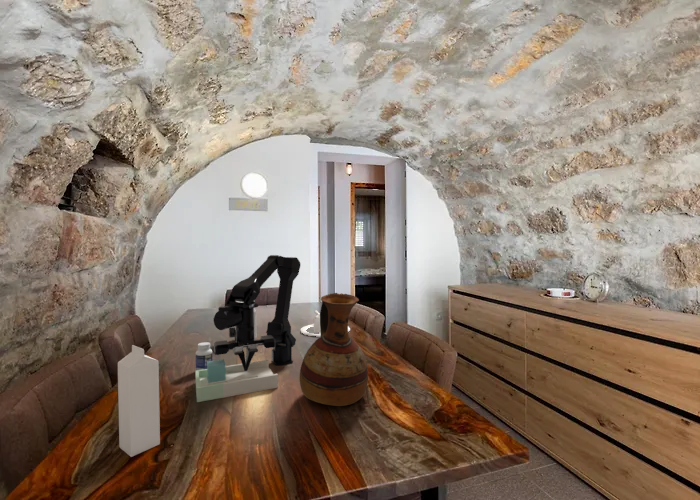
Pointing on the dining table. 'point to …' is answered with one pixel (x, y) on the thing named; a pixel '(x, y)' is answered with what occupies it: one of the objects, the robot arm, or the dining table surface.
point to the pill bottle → (203, 355)
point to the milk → (138, 402)
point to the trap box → (236, 381)
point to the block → (216, 371)
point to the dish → (315, 325)
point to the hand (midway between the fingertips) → (245, 370)
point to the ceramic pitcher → (334, 357)
